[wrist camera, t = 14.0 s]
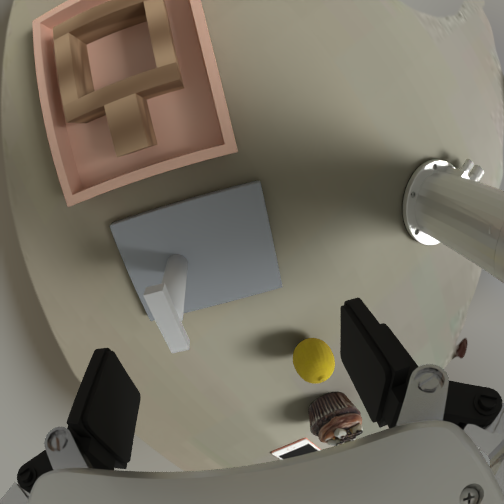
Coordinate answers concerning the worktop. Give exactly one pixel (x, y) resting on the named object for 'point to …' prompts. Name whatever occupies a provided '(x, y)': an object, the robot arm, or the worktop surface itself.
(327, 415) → the cupcake
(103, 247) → the worktop surface
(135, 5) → the wooden bar frame
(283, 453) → the cell phone
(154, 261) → the stand
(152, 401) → the worktop surface
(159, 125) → the tray
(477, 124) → the worktop surface
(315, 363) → the lemon
